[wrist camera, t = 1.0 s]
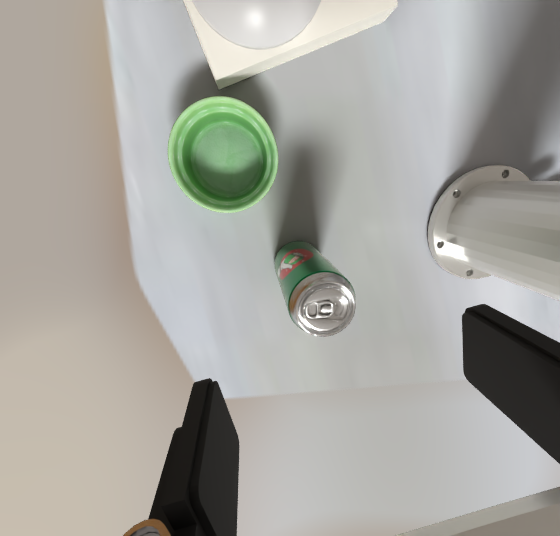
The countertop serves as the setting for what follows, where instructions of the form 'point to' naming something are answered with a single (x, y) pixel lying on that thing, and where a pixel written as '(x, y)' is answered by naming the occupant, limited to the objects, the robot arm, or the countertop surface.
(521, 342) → the robot arm
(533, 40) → the countertop surface
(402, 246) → the countertop surface
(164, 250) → the countertop surface
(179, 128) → the ramekin
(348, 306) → the soda can
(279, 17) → the scale
